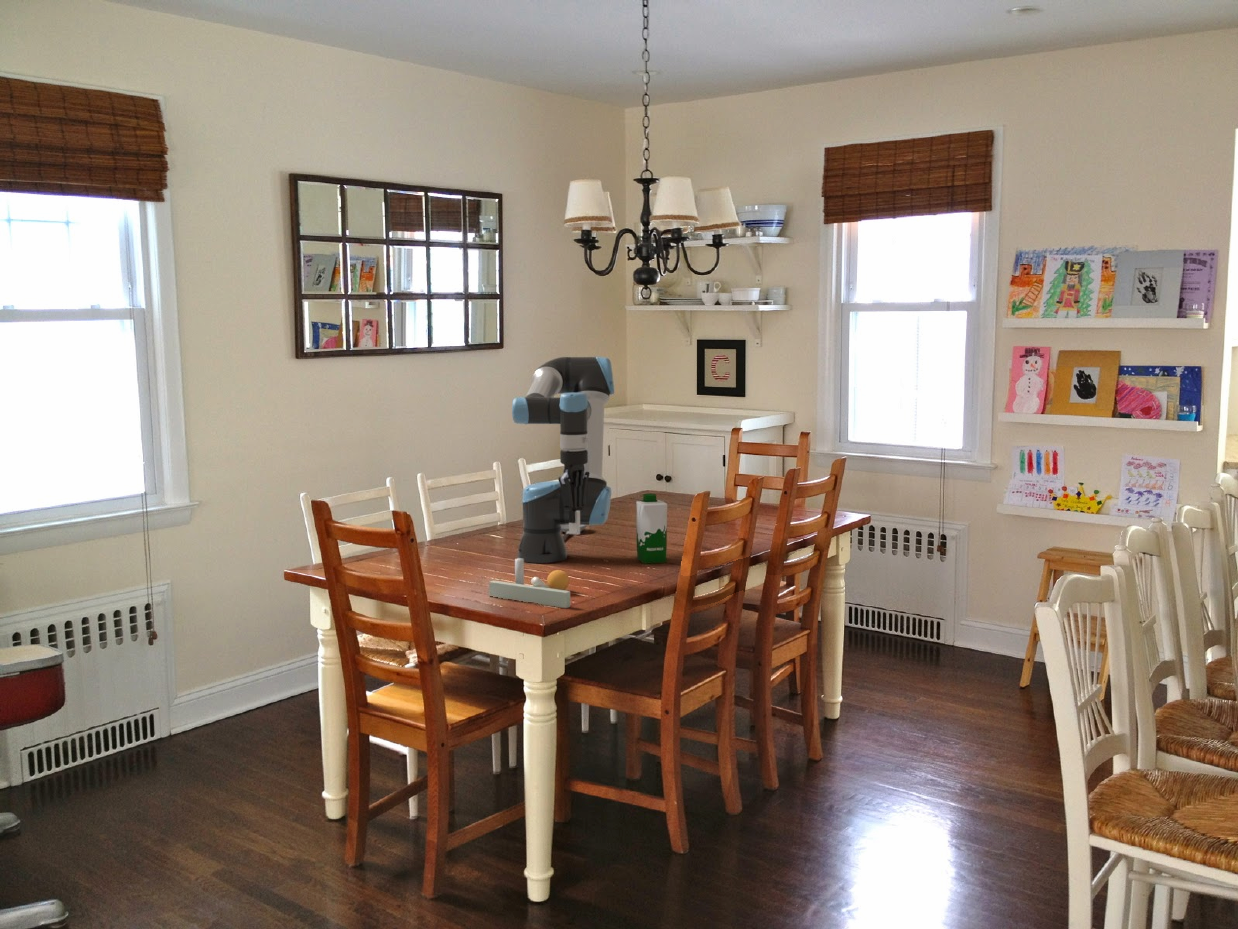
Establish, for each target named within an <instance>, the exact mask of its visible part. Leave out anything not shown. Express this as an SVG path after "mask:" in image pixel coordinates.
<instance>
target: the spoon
mask: <svg viewBox="0 0 1238 929" xmlns="http://www.w3.org/2000/svg"><path fill="white" fill-rule="evenodd" d="M587 526H588V525H580V532H582V531H583V530H585V529H586V528H587ZM561 532H563V533H565V534H564V535H562V537H563V540H564V543H565V542H566V540H568V537H569V536H570V535H571V534H569V525H561Z"/></svg>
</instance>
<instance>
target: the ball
mask: <svg viewBox="0 0 1238 929" xmlns="http://www.w3.org/2000/svg"><path fill="white" fill-rule="evenodd" d="M546 578H547V579H546V584H547V585H548V586H549V587H550V588H551V589H558V590H565V591H566V590H567V589H568V587H569V584H570V578H569V575H568V574H567V572H565V571H563V570H560V569H556V570H552V571H551V572H550V573H549V574H548V575H547V577H546Z"/></svg>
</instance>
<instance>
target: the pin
mask: <svg viewBox="0 0 1238 929" xmlns="http://www.w3.org/2000/svg"><path fill="white" fill-rule="evenodd" d="M530 583H531V586H537V587H544V588H550V587H549V586H548V584H547V583H545V582H544V581H543V580H542V579H541V578H539V576H534V577H533V578H531V579H530Z"/></svg>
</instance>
